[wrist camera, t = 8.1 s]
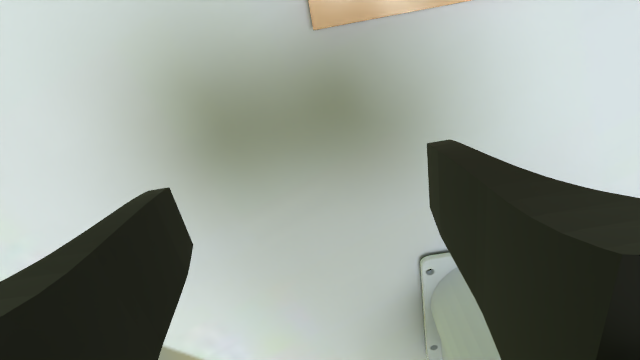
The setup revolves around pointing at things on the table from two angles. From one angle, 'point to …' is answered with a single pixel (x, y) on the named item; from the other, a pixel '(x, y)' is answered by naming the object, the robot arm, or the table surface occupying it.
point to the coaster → (364, 10)
